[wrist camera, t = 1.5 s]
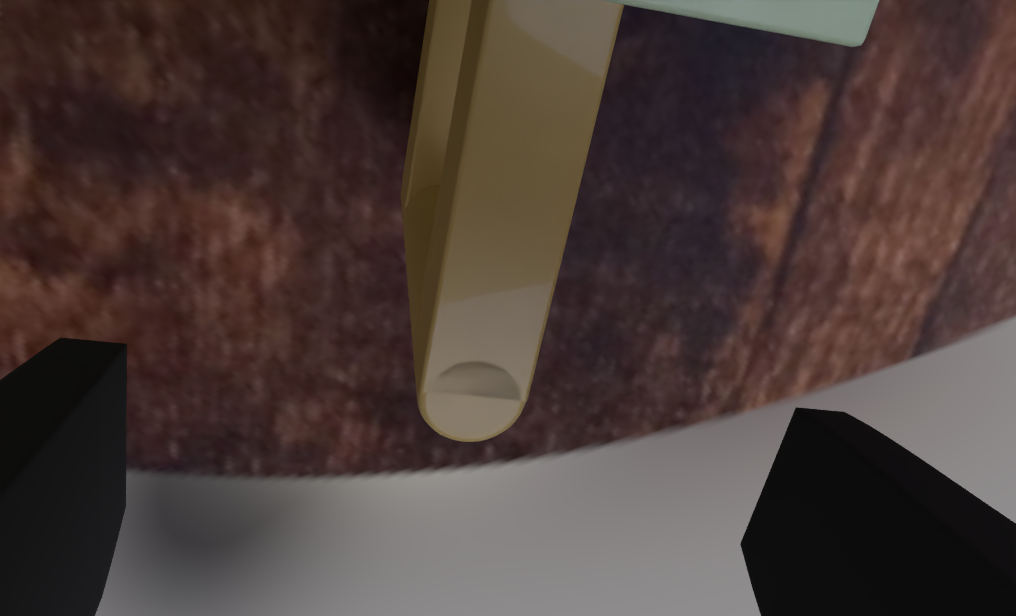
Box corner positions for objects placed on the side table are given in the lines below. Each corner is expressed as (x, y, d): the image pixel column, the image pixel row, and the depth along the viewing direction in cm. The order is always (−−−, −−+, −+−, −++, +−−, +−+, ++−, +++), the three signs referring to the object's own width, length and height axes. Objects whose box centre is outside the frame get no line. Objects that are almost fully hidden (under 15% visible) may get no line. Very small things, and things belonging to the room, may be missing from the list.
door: (532, 204, 17) (676, 561, 9) (-384, 80, 14) (-1368, 451, 6) (611, -155, 14) (918, -94, 6) (-505, -403, 11) (-2576, -874, 3)
